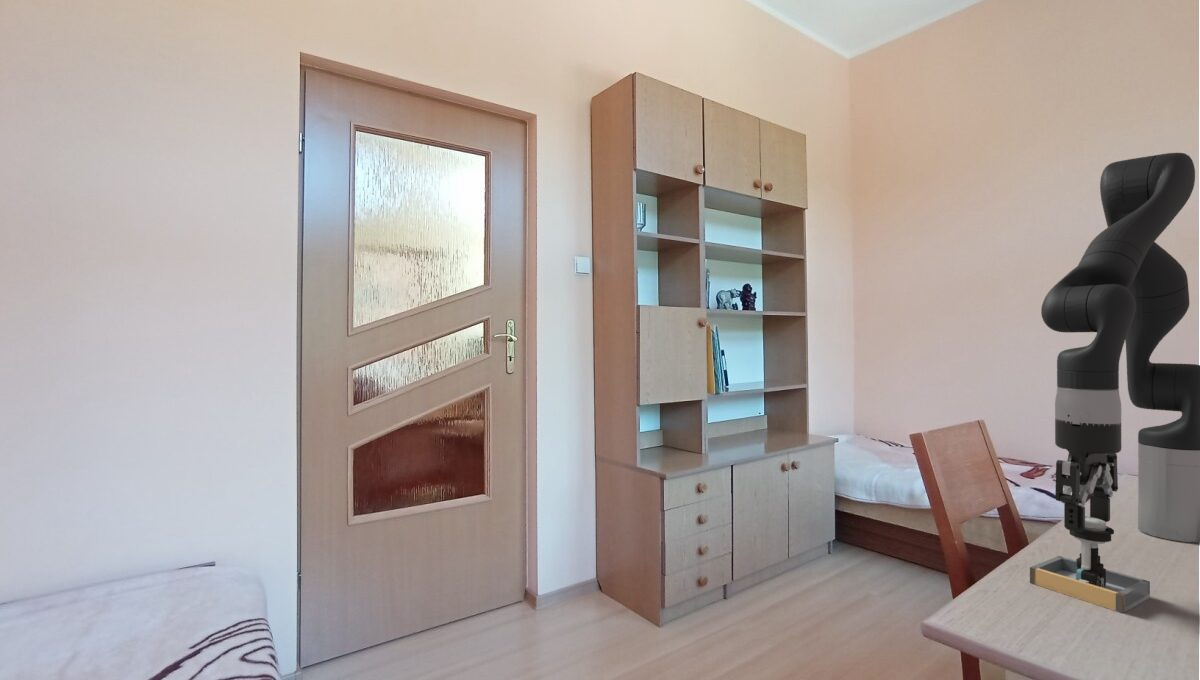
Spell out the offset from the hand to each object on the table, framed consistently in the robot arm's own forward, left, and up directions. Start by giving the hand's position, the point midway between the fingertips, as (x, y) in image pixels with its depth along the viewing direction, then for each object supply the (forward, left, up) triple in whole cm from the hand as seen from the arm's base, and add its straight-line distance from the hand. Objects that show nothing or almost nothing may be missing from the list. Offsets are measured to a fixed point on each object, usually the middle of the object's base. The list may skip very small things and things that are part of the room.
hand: (1087, 525), depth 84 cm
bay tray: (0, 0, -10) cm, 10 cm away
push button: (+1, 0, -9) cm, 9 cm away
